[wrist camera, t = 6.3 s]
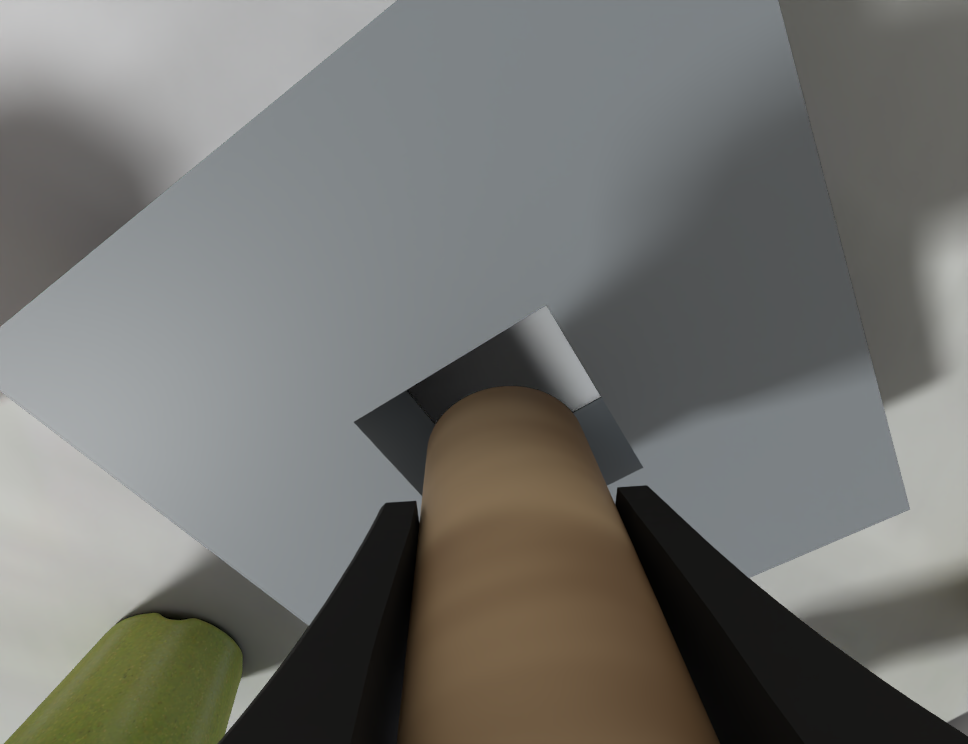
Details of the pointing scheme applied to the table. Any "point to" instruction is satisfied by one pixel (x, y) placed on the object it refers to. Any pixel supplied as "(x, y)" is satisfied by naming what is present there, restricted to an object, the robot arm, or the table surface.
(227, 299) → the socket block
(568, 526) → the peg
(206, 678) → the plant pot
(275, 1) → the table surface
